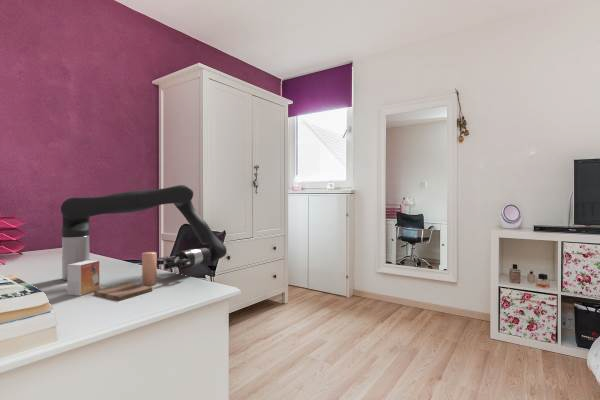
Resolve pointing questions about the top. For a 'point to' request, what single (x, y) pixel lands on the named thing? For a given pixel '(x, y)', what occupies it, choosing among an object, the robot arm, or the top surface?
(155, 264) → the terracotta canister
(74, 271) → the small box
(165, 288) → the top surface
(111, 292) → the walnut board
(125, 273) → the top surface
